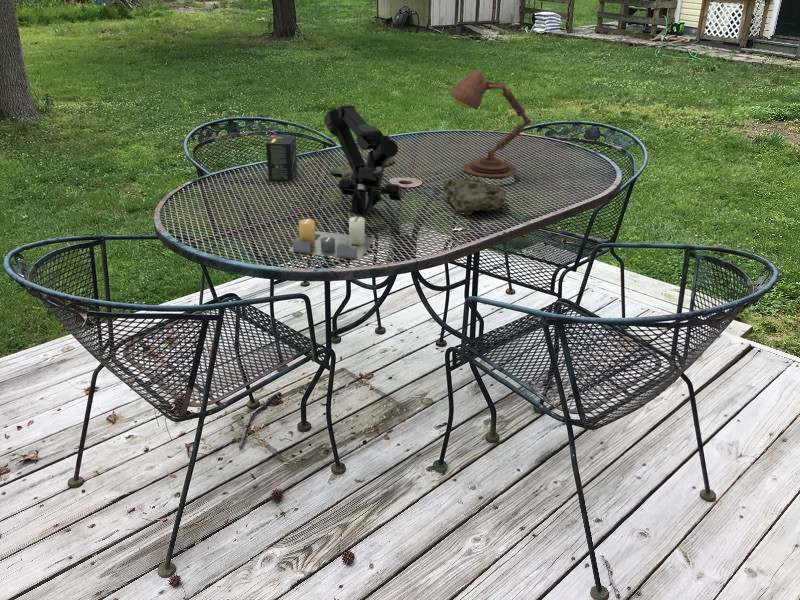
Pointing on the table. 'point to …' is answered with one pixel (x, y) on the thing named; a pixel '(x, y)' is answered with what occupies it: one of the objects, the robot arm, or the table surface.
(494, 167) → the desk lamp
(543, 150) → the table surface
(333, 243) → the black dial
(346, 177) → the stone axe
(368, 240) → the console plate
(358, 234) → the cream knob
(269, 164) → the tampon box
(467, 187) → the stone
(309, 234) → the orange knob
